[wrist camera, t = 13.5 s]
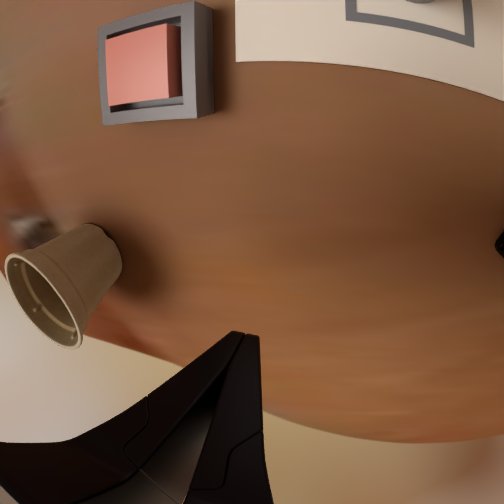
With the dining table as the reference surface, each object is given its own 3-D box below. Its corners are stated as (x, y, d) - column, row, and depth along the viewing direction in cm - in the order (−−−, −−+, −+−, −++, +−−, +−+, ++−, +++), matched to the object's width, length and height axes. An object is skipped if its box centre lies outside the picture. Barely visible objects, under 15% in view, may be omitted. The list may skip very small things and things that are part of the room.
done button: (186, 28, 14) (166, 23, 12) (188, 95, 16) (168, 97, 15) (128, 41, 15) (105, 40, 13) (130, 101, 17) (108, 106, 16)
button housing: (212, 9, 14) (194, 0, 12) (214, 113, 17) (196, 118, 15) (121, 29, 16) (97, 27, 14) (125, 119, 19) (103, 125, 17)
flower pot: (100, 189, 23) (23, 239, 16) (156, 281, 26) (99, 349, 19) (54, 225, 27) (-5, 269, 20) (100, 297, 31) (52, 350, 24)
